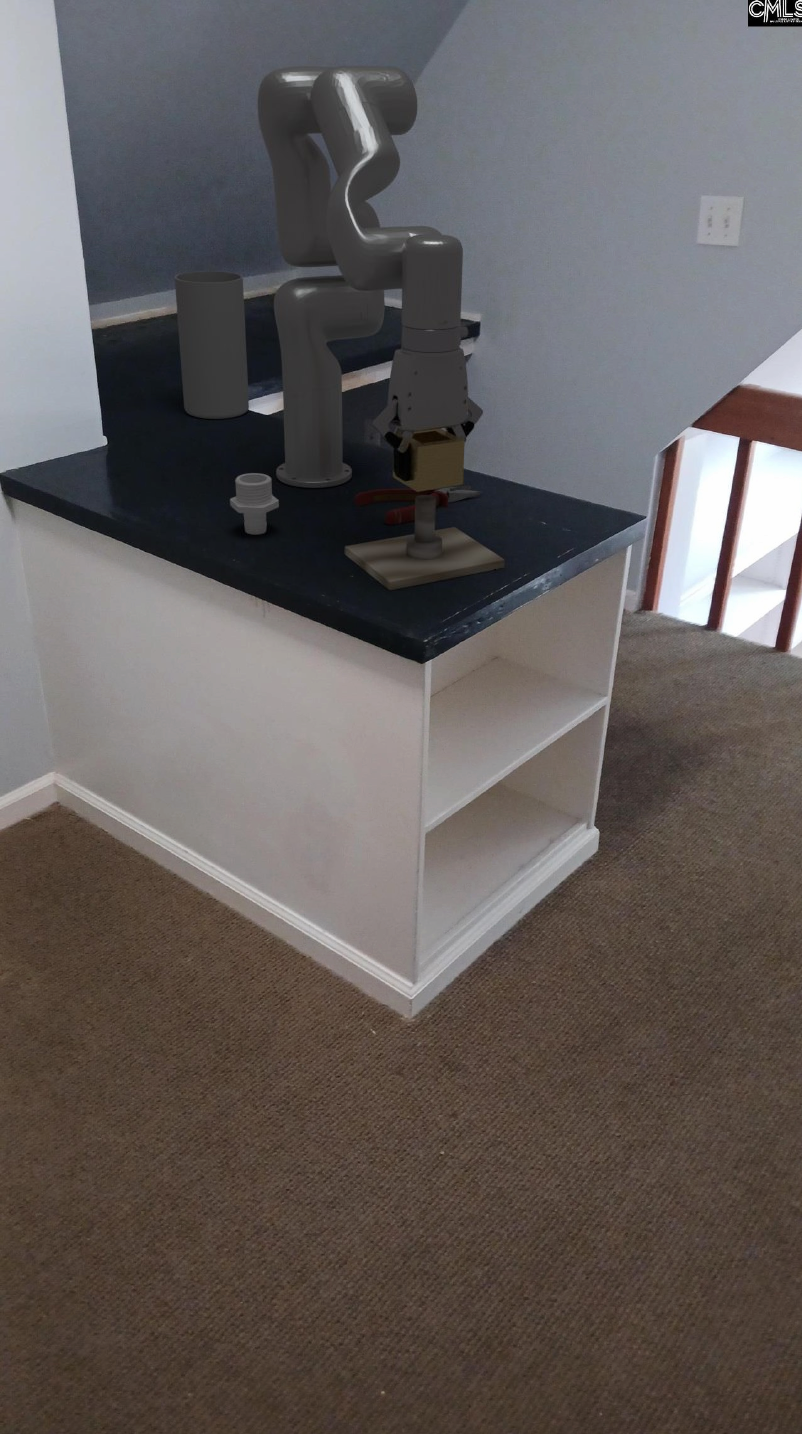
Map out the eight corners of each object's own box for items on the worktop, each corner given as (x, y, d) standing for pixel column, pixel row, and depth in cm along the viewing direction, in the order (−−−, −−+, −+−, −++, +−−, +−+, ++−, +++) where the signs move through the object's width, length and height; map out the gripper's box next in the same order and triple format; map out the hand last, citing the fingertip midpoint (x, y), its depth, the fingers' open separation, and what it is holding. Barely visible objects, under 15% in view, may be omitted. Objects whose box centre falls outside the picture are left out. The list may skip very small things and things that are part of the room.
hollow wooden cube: (392, 477, 160) (393, 433, 157) (437, 470, 162) (438, 427, 160) (417, 491, 154) (418, 447, 151) (463, 484, 157) (464, 440, 154)
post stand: (344, 554, 166) (344, 492, 162) (454, 534, 174) (456, 474, 169) (389, 590, 156) (390, 525, 151) (504, 567, 163) (508, 504, 158)
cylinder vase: (256, 416, 226) (250, 281, 214) (193, 422, 222) (183, 284, 209) (239, 400, 236) (232, 269, 223) (178, 405, 232) (167, 273, 219)
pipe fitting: (266, 519, 178) (264, 468, 174) (284, 535, 172) (282, 483, 168) (227, 526, 175) (224, 474, 171) (244, 542, 170) (241, 489, 166)
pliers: (497, 507, 186) (498, 491, 184) (389, 529, 176) (389, 513, 175) (457, 487, 194) (457, 471, 193) (351, 507, 185) (351, 491, 184)
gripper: (473, 328, 156) (468, 459, 165) (356, 339, 149) (357, 475, 157) (503, 339, 150) (496, 473, 159) (383, 351, 143) (382, 491, 152)
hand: (427, 473), depth 158 cm, fingers closed on hollow wooden cube, 7 cm apart
